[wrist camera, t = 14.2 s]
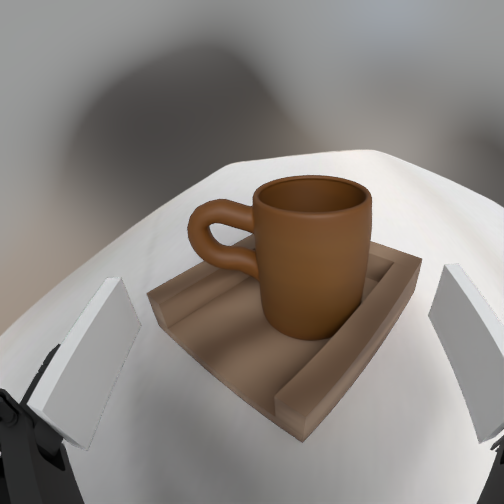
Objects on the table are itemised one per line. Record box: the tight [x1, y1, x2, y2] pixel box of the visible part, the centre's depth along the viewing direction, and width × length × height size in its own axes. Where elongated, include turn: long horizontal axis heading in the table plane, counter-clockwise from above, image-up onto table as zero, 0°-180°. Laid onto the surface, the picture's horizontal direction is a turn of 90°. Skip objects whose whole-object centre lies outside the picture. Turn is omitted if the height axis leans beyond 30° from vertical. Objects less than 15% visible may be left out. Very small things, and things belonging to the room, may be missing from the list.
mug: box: [187, 175, 372, 341], centre depth 20 cm, size 12×8×9 cm, turn 88°
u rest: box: [147, 234, 422, 443], centre depth 22 cm, size 15×17×4 cm
